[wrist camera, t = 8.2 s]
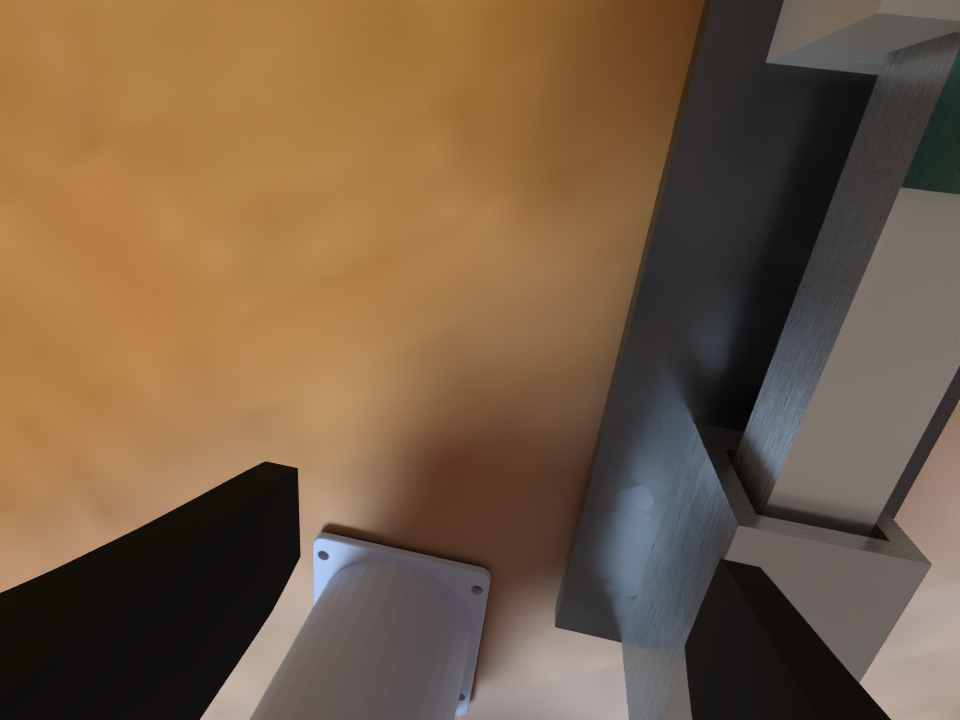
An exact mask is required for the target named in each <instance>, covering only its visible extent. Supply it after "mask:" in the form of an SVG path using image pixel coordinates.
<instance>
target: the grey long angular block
mask: <svg viewBox="0 0 960 720" xmlns="http://www.w3.org/2000/svg"><path fill="white" fill-rule="evenodd" d="M783 2H784V0H705V3H704V7H703V11H702V15H701V20H700V24H699V28H698V32H697V36H696V40H695V44H694V48H693V52H692V56H691V60H690V64H689V68H688V72H687V76H686V80H685V84H684V89H683V93H682V97H681V101H680V105H679V109H678V113H677V117H676V121H675V125H674V129H673V133H672V137H671V141H670V145H669V149H668V153H667V158H666V162H665V166H664V170H663V174H662V178H661V182H660V186H659V190H658V194H657V198H656V202H655V206H654V210H653V214H652V218H651V222H650V227H649V231H648V235H647V239H646V243H645V247H644V251H643V255H642V259H641V263H640V267H639V271H638V275H637V279H636V283H635V287H634V291H633V296H632V300H631V304H630V308H629V312H628V316H627V320H626V324H625V328H624V332H623V336H622V340H621V344H620V348H619V352H618V356H617V360H616V365H615V369H614V373H613V377H612V381H611V385H610V389H609V393H608V397H607V401H606V405H605V409H604V413H603V417H602V421H601V425H600V429H599V434H598V438H597V442H596V446H595V450H594V454H593V458H592V462H591V466H590V470H589V474H588V478H587V482H586V486H585V490H584V494H583V498H582V503H581V507H580V511H579V515H578V519H577V523H576V527H575V531H574V535H573V539H572V543H571V547H570V551H569V555H568V559H567V563H566V568H565V572H564V576H563V580H562V584H561V588H560V592H559V596H558V600H557V604H556V610H555V627H557V628H561V629H566V630H570V631H574V632H579V633H583V634H587V635H592V636H596V637H600V638H605V639H609V640H613V641H617V642H622V651H623V661H624V672H625V682H626V693H627V703H628V714H629V720H692V715H691V707H690V698H689V689H688V680H687V669H686V658H685V647H684V646H685V643H686V641H687V638H688V636H689V633H690V631H691V629H692V626H693V624H694V621H695V619H696V616H697V614H698V612H699V609H700V607H701V604H702V602H703V599H704V597H705V594H706V592H707V590H708V587H709V585H710V582H711V580H712V577H713V575H714V573H715V570H716V568H717V565H718V563H719V560H720V558H721V559H725V560H730V561H735V562H739V563H744V564H749V565H753V566H758V567H760V568H761V569H762V570H763V571H764V572H765V573H766V574H767V575H768V576H769V578H770V579H771V580H772V581H773V582H774V583H775V584H776V586H777V587H778V588H779V589H780V590H781V591H782V593H783V594H784V595H785V596H786V597H787V599H788V600H789V601H790V602H791V603H792V605H793V606H794V607H795V608H796V609H797V610H798V612H799V613H800V614H801V615H802V616H803V618H804V619H805V620H806V621H807V622H808V624H809V625H810V626H811V627H812V628H813V630H814V631H815V632H816V633H817V634H818V636H819V637H820V638H821V639H822V640H823V641H824V643H825V644H826V645H827V646H828V647H829V649H830V650H831V651H832V652H833V653H834V654H835V656H836V657H837V658H838V659H839V660H840V662H841V663H842V664H843V665H844V666H845V667H846V669H847V670H848V671H849V672H850V673H851V674H852V676H853V677H854V678H855V679H856V680H857V681H858V682H859V683H860V681H861V679H862V678H863V676H864V675H865V673H866V671H867V670H868V668H869V666H870V665H871V663H872V661H873V660H874V658H875V657H876V655H877V653H878V652H879V650H880V648H881V647H882V645H883V644H884V642H885V640H886V639H887V637H888V635H889V634H890V632H891V631H892V629H893V627H894V626H895V624H896V622H897V621H898V619H899V618H900V616H901V614H902V613H903V611H904V609H905V608H906V606H907V605H908V603H909V601H910V600H911V598H912V596H913V595H914V593H915V592H916V590H917V588H918V587H919V585H920V583H921V582H922V580H923V579H924V577H925V575H926V574H927V572H928V570H929V569H930V567H931V565H932V564H931V563H930V562H929V561H928V559H927V558H926V557H925V556H924V555H923V554H922V552H921V551H920V550H919V549H918V548H917V547H916V545H915V544H914V543H913V542H912V541H911V540H910V538H909V537H908V536H907V535H906V534H905V533H904V531H903V530H902V529H901V528H900V527H899V526H898V524H897V523H896V522H895V521H894V520H893V519H894V517H895V516H896V514H897V512H898V510H899V508H900V507H901V505H902V503H903V501H904V499H905V497H906V496H907V494H908V492H909V490H910V488H911V487H912V485H913V483H914V481H915V479H916V478H917V476H918V474H919V472H920V470H921V468H922V467H923V465H924V463H925V461H926V459H927V458H928V456H929V454H930V452H931V450H932V448H933V447H934V445H935V443H936V441H937V439H938V438H939V436H940V434H941V432H942V430H943V428H944V427H945V425H946V423H947V421H948V419H949V418H950V416H951V414H952V412H953V410H954V409H955V407H956V405H957V403H958V401H959V399H960V366H959V368H958V370H957V372H956V374H955V376H954V377H953V379H952V381H951V383H950V385H949V387H948V389H947V390H946V392H945V394H944V396H943V398H942V400H941V402H940V404H939V405H938V407H937V409H936V411H935V413H934V415H933V417H932V418H931V420H930V422H929V424H928V426H927V428H926V430H925V432H924V433H923V435H922V437H921V439H920V441H919V443H918V445H917V446H916V448H915V450H914V452H913V454H912V456H911V458H910V460H909V461H908V463H907V465H906V467H905V469H904V471H903V473H902V475H901V476H900V478H899V480H898V482H897V484H896V486H895V488H894V489H893V491H892V493H891V495H890V497H889V499H888V501H887V503H886V504H885V506H884V508H883V510H882V512H881V514H880V516H879V517H878V519H877V521H876V523H875V525H874V527H873V529H872V531H871V532H870V534H869V536H868V537H865V536H860V535H855V534H850V533H845V532H840V531H835V530H830V529H825V528H820V527H815V526H810V525H805V524H800V523H795V522H790V521H785V520H780V519H775V518H770V517H766V516H761V515H756V513H755V511H754V509H753V507H752V505H751V503H750V501H749V499H748V497H747V495H746V493H745V491H744V489H743V487H742V485H741V483H740V481H739V479H738V477H737V475H736V473H735V471H734V469H733V467H732V464H733V462H734V459H735V456H736V454H737V451H738V448H739V446H740V443H741V440H742V438H743V435H744V432H745V430H746V427H747V424H748V422H749V419H750V416H751V414H752V411H753V408H754V406H755V403H756V400H757V398H758V395H759V392H760V390H761V387H762V384H763V382H764V379H765V376H766V374H767V371H768V368H769V366H770V363H771V360H772V358H773V355H774V352H775V350H776V347H777V344H778V342H779V339H780V336H781V334H782V331H783V328H784V326H785V323H786V320H787V318H788V315H789V312H790V310H791V307H792V305H793V302H794V299H795V297H796V294H797V291H798V289H799V286H800V283H801V281H802V278H803V275H804V273H805V270H806V267H807V265H808V262H809V259H810V257H811V254H812V251H813V249H814V246H815V243H816V241H817V238H818V235H819V233H820V230H821V227H822V225H823V222H824V219H825V217H826V214H827V211H828V209H829V206H830V203H831V201H832V198H833V195H834V193H835V190H836V187H837V185H838V182H839V179H840V177H841V174H842V171H843V169H844V166H845V163H846V161H847V158H848V155H849V153H850V150H851V147H852V145H853V142H854V140H855V137H856V134H857V132H858V129H859V126H860V124H861V121H862V118H863V116H864V113H865V110H866V108H867V105H868V102H869V100H870V97H871V94H872V92H873V89H874V86H875V84H876V81H877V78H878V76H879V75H873V74H864V73H855V72H846V71H837V70H827V69H818V68H809V67H800V66H791V65H782V64H773V63H766V59H767V56H768V53H769V49H770V46H771V43H772V39H773V36H774V33H775V29H776V26H777V22H778V19H779V16H780V12H781V9H782V6H783Z"/></svg>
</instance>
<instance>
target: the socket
mask: <svg viewBox="0 0 960 720" xmlns="http://www.w3.org/2000/svg"><path fill="white" fill-rule="evenodd" d="M953 32H957V33H960V0H784V2H783V6H782V9H781V12H780V16H779V19H778V22H777V26H776V29H775V33H774V36H773V39H772V43H771V46H770V49H769V53H768V56H767V59H766V63H773V64H782V65H791V66H800V67H809V68H818V69H827V70H837V71H846V72H855V73H864V74H873V75H879V73H880V70H881V68H882V65H883V62H884V60H885V57H886V54H887V53H888V52H891V51H894V50H898V49H901V48H904V47H907V46H911V45H914V44H917V43H920V42H924V41H927V40H930V39H934V38H937V37H940V36H943V35H947V34H950V33H953Z"/></svg>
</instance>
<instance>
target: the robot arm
mask: <svg viewBox="0 0 960 720" xmlns="http://www.w3.org/2000/svg"><path fill="white" fill-rule="evenodd" d="M323 551H325V552H326V553H324V552H323ZM299 558H300V525H299V493H298V468H294V467H290V466H285V465H280V464H275V463H271V462H266V461H265V462H263V463H261V464H259V465H257V466H255V467H253V468H251V469H249V470H247V471H245V472H243V473H241V474H239V475H238V476H236V477H234V478H232V479H230V480H228V481H226V482H225V483H223V484H221V485H219V486H217V487H215V488H213V489H212V490H210V491H208V492H206V493H204V494H202V495H200V496H199V497H197V498H195V499H193V500H191V501H189V502H187V503H186V504H184V505H182V506H180V507H178V508H176V509H174V510H172V511H170V512H169V513H167V514H165V515H163V516H161V517H159V518H157V519H155V520H153V521H151V522H150V523H148V524H146V525H144V526H142V527H140V528H138V529H136V530H134V531H132V532H130V533H128V534H126V535H124V536H122V537H120V538H118V539H116V540H114V541H112V542H110V543H107V544H105V545H103V546H101V547H99V548H97V549H95V550H93V551H91V552H89V553H87V554H85V555H83V556H81V557H79V558H77V559H75V560H73V561H71V562H68V563H66V564H64V565H62V566H60V567H58V568H56V569H54V570H52V571H49V572H47V573H45V574H43V575H41V576H38V577H36V578H34V579H32V580H29V581H27V582H25V583H22V584H20V585H18V586H16V587H13V588H11V589H9V590H6V591H4V592H2V593H0V720H200V718H201V717H202V715H203V714H204V713H205V711H206V710H207V708H208V707H209V705H210V704H211V702H212V701H213V699H214V698H215V696H216V695H217V693H218V692H219V690H220V689H221V687H222V686H223V684H224V683H225V681H226V680H227V678H228V677H229V675H230V674H231V672H232V671H233V670H234V668H235V667H236V665H237V664H238V662H239V661H240V659H241V658H242V656H243V655H244V653H245V652H246V650H247V649H248V647H249V646H250V644H251V643H252V641H253V640H254V638H255V637H256V635H257V634H258V632H259V631H260V629H261V628H262V626H263V625H264V623H265V622H266V620H267V618H268V617H269V615H270V614H271V612H272V611H273V609H274V607H275V605H276V603H277V601H278V599H279V598H280V596H281V594H282V592H283V590H284V588H285V586H286V584H287V582H288V580H289V578H290V576H291V574H292V572H293V570H294V568H295V566H296V564H297V562H298V560H299ZM313 581H314V607H313V609H312V611H311V612H310V614H309V616H308V618H307V619H306V621H305V623H304V625H303V626H302V628H301V630H300V632H299V633H298V635H297V637H296V639H295V640H294V642H293V644H292V646H291V648H290V649H289V651H288V653H287V655H286V656H285V658H284V660H283V662H282V663H281V665H280V667H279V669H278V670H277V672H276V674H275V676H274V677H273V679H272V681H271V683H270V684H269V686H268V688H267V690H266V691H265V693H264V695H263V697H262V699H261V700H260V702H259V704H258V706H257V707H256V709H255V711H254V713H253V714H252V716H251V718H250V720H454V719H455V716H464V715H466V714H467V712H468V708H469V703H470V697H471V691H472V685H473V679H474V674H475V668H476V662H477V656H478V651H479V645H480V639H481V633H482V627H483V622H484V616H485V610H486V604H487V599H488V593H489V587H490V581H491V575H490V573H489V571H487V570H486V569H485V568H482V567H478V566H474V565H469V564H465V563H460V562H456V561H451V560H447V559H442V558H438V557H433V556H429V555H424V554H420V553H415V552H411V551H406V550H402V549H397V548H393V547H388V546H384V545H379V544H375V543H370V542H366V541H361V540H357V539H352V538H348V537H344V536H339V535H335V534H330V533H320V534H319V535H318V536H317V537H316V538H315V540H314V543H313ZM475 586H479V587H481V588H477V587H475ZM684 647H685V658H686V669H687V680H688V689H689V698H690V707H691V715H692V720H891V719H890V718H889V717H888V716H887V714H886V713H885V712H884V711H883V710H882V709H881V708H880V707H879V705H878V704H877V703H876V702H875V701H874V700H873V699H872V697H871V696H870V695H869V694H868V693H867V692H866V691H865V689H864V688H863V687H862V686H861V685H860V684H859V682H858V681H857V680H856V679H855V678H854V677H853V676H852V674H851V673H850V672H849V671H848V670H847V669H846V667H845V666H844V665H843V664H842V663H841V662H840V660H839V659H838V658H837V657H836V656H835V654H834V653H833V652H832V651H831V650H830V649H829V647H828V646H827V645H826V644H825V643H824V641H823V640H822V639H821V638H820V637H819V636H818V634H817V633H816V632H815V631H814V630H813V628H812V627H811V626H810V625H809V624H808V622H807V621H806V620H805V619H804V618H803V616H802V615H801V614H800V613H799V612H798V610H797V609H796V608H795V607H794V606H793V605H792V603H791V602H790V601H789V600H788V599H787V597H786V596H785V595H784V594H783V593H782V591H781V590H780V589H779V588H778V587H777V586H776V584H775V583H774V582H773V581H772V580H771V579H770V578H769V576H768V575H767V574H766V573H765V572H764V571H763V570H762V569H761V568H760V567H758V566H753V565H749V564H744V563H739V562H735V561H730V560H725V559H721V558H720V560H719V563H718V565H717V568H716V570H715V573H714V575H713V577H712V580H711V582H710V585H709V587H708V590H707V592H706V594H705V597H704V599H703V602H702V604H701V607H700V609H699V612H698V614H697V616H696V619H695V621H694V624H693V626H692V629H691V631H690V633H689V636H688V638H687V641H686V643H685V646H684Z"/></svg>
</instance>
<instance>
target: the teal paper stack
mask: <svg viewBox="0 0 960 720" xmlns="http://www.w3.org/2000/svg"><path fill="white" fill-rule="evenodd" d="M959 366H960V33H957V32H953V33H950V34H947V35H943V36H940V37H937V38H934V39H930V40H927V41H924V42H920V43H917V44H914V45H911V46H907V47H904V48H901V49H898V50H894V51H891V52H888V53H887V54H886V57H885V60H884V62H883V65H882V68H881V70H880V73H879V76H878V78H877V81H876V84H875V86H874V89H873V92H872V94H871V97H870V100H869V102H868V105H867V108H866V110H865V113H864V116H863V118H862V121H861V124H860V126H859V129H858V132H857V134H856V137H855V140H854V142H853V145H852V147H851V150H850V153H849V155H848V158H847V161H846V163H845V166H844V169H843V171H842V174H841V177H840V179H839V182H838V185H837V187H836V190H835V193H834V195H833V198H832V201H831V203H830V206H829V209H828V211H827V214H826V217H825V219H824V222H823V225H822V227H821V230H820V233H819V235H818V238H817V241H816V243H815V246H814V249H813V251H812V254H811V257H810V259H809V262H808V265H807V267H806V270H805V273H804V275H803V278H802V281H801V283H800V286H799V289H798V291H797V294H796V297H795V299H794V302H793V305H792V307H791V310H790V312H789V315H788V318H787V320H786V323H785V326H784V328H783V331H782V334H781V336H780V339H779V342H778V344H777V347H776V350H775V352H774V355H773V358H772V360H771V363H770V366H769V368H768V371H767V374H766V376H765V379H764V382H763V384H762V387H761V390H760V392H759V395H758V398H757V400H756V403H755V406H754V408H753V411H752V414H751V416H750V419H749V422H748V424H747V427H746V430H745V432H744V435H743V438H742V440H741V443H740V446H739V448H738V451H737V454H736V456H735V459H734V462H733V464H732V467H733V469H734V471H735V473H736V475H737V477H738V479H739V481H740V483H741V485H742V487H743V489H744V491H745V493H746V495H747V497H748V499H749V501H750V503H751V505H752V507H753V509H754V511H755V513H756V515H761V516H766V517H770V518H775V519H780V520H785V521H790V522H795V523H800V524H805V525H810V526H815V527H820V528H825V529H830V530H835V531H840V532H845V533H850V534H855V535H860V536H865V537H868V536H869V534H870V532H871V531H872V529H873V527H874V525H875V523H876V521H877V519H878V517H879V516H880V514H881V512H882V510H883V508H884V506H885V504H886V503H887V501H888V499H889V497H890V495H891V493H892V491H893V489H894V488H895V486H896V484H897V482H898V480H899V478H900V476H901V475H902V473H903V471H904V469H905V467H906V465H907V463H908V461H909V460H910V458H911V456H912V454H913V452H914V450H915V448H916V446H917V445H918V443H919V441H920V439H921V437H922V435H923V433H924V432H925V430H926V428H927V426H928V424H929V422H930V420H931V418H932V417H933V415H934V413H935V411H936V409H937V407H938V405H939V404H940V402H941V400H942V398H943V396H944V394H945V392H946V390H947V389H948V387H949V385H950V383H951V381H952V379H953V377H954V376H955V374H956V372H957V370H958V368H959Z"/></svg>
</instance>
